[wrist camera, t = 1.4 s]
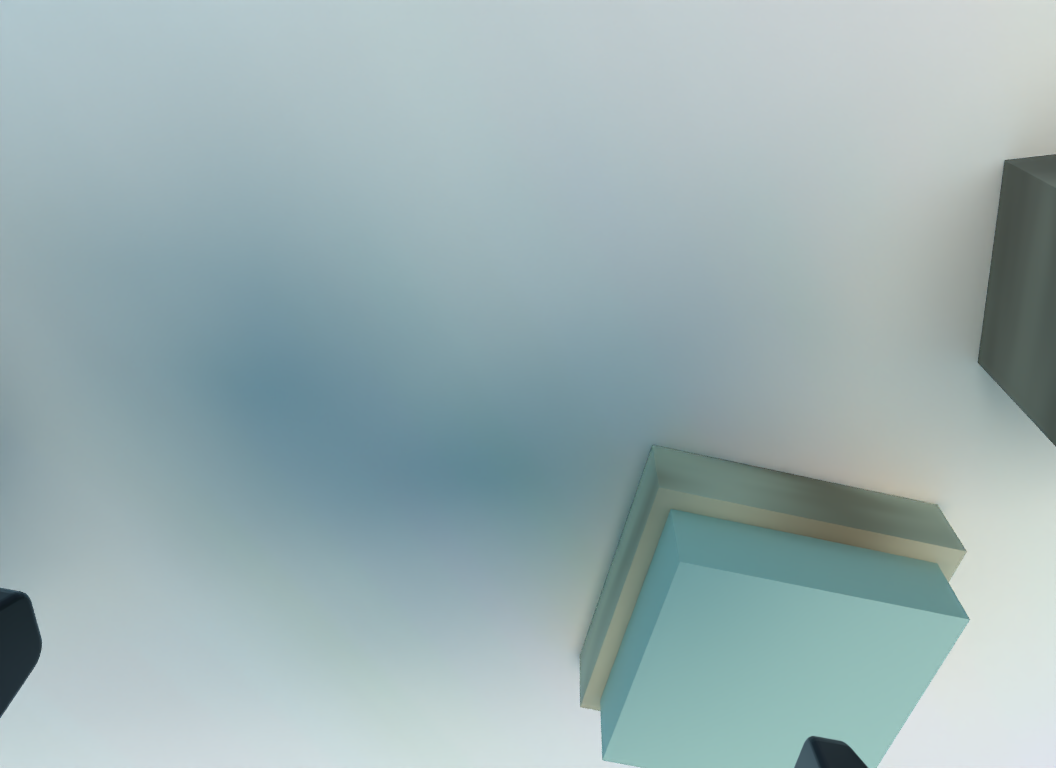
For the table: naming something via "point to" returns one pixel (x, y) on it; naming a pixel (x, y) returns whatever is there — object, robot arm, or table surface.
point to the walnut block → (1024, 291)
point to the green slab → (771, 648)
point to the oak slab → (752, 502)
